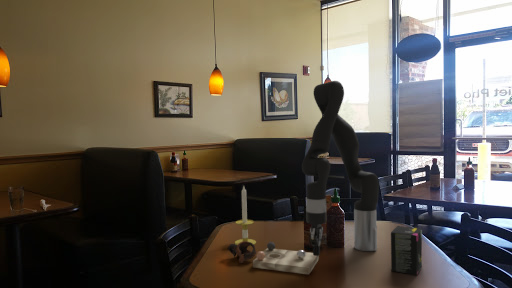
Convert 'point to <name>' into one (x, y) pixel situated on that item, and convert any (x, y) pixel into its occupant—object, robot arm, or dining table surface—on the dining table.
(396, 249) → the tampon box
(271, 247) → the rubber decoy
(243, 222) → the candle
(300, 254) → the steel ball
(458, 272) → the dining table surface
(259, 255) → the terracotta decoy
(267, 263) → the board
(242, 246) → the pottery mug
